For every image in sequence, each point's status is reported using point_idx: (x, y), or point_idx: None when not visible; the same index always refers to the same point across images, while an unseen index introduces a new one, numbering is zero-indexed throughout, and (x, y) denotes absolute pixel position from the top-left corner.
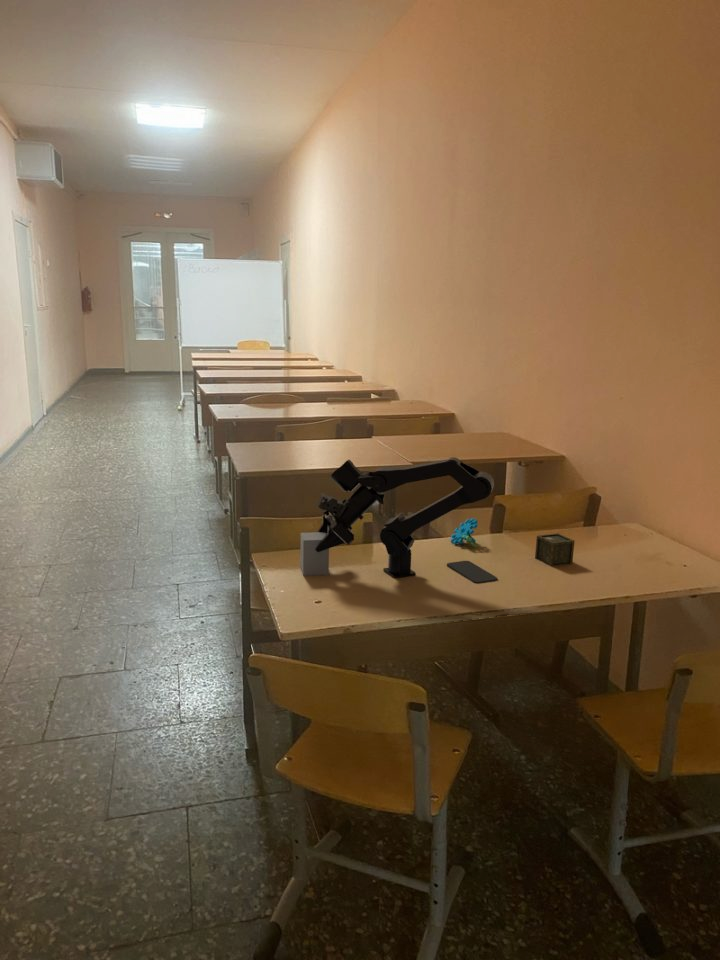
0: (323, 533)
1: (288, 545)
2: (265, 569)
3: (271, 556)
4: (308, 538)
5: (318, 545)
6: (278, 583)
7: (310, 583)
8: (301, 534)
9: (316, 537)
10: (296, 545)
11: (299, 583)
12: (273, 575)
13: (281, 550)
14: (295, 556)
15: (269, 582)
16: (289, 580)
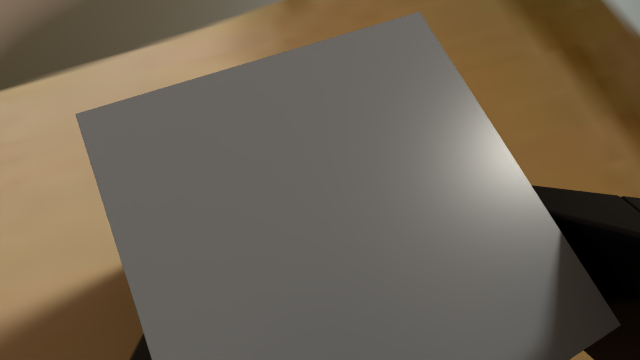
0: (539, 318)
1: (613, 37)
2: (247, 17)
3: (437, 3)
4: (196, 160)
5: (144, 355)
6: (28, 128)
7: (45, 325)
8: (356, 33)
9: (286, 271)
10: (635, 70)
11: (39, 250)
12: (163, 72)
13: (534, 24)
14: (488, 104)
15: (41, 79)
16: (90, 174)
